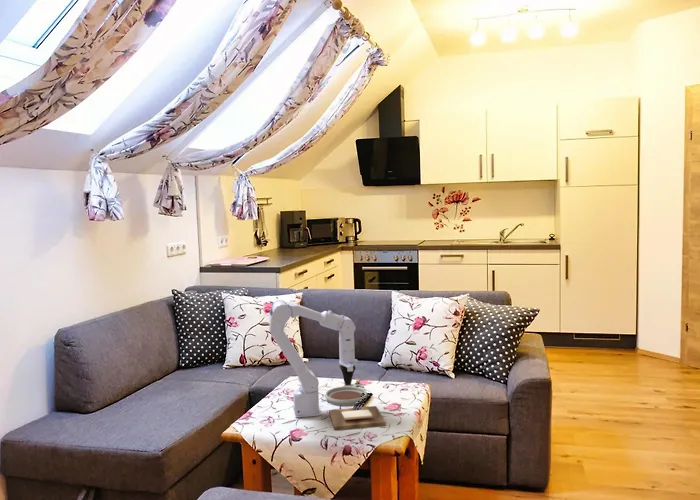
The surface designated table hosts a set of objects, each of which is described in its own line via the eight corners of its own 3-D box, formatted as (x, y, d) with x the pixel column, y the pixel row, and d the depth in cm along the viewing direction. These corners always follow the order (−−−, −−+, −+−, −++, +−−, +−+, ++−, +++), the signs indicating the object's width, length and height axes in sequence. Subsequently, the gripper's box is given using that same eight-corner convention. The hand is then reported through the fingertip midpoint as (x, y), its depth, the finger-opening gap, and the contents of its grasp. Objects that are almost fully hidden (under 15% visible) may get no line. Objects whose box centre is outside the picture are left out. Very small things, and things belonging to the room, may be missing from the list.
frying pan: (377, 379, 259) (361, 401, 232) (377, 385, 259) (361, 408, 232) (338, 377, 263) (319, 398, 236) (339, 383, 263) (319, 405, 237)
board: (334, 430, 212) (334, 426, 211) (328, 413, 227) (328, 410, 227) (385, 425, 214) (385, 422, 214) (376, 409, 230) (376, 405, 230)
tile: (340, 411, 223) (341, 413, 223) (344, 417, 215) (344, 420, 215) (367, 409, 225) (367, 411, 225) (372, 415, 216) (372, 417, 216)
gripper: (360, 353, 222) (361, 389, 224) (354, 343, 237) (355, 377, 238) (341, 355, 221) (342, 391, 223) (336, 344, 236) (337, 379, 237)
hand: (347, 384), depth 230 cm, fingers closed
